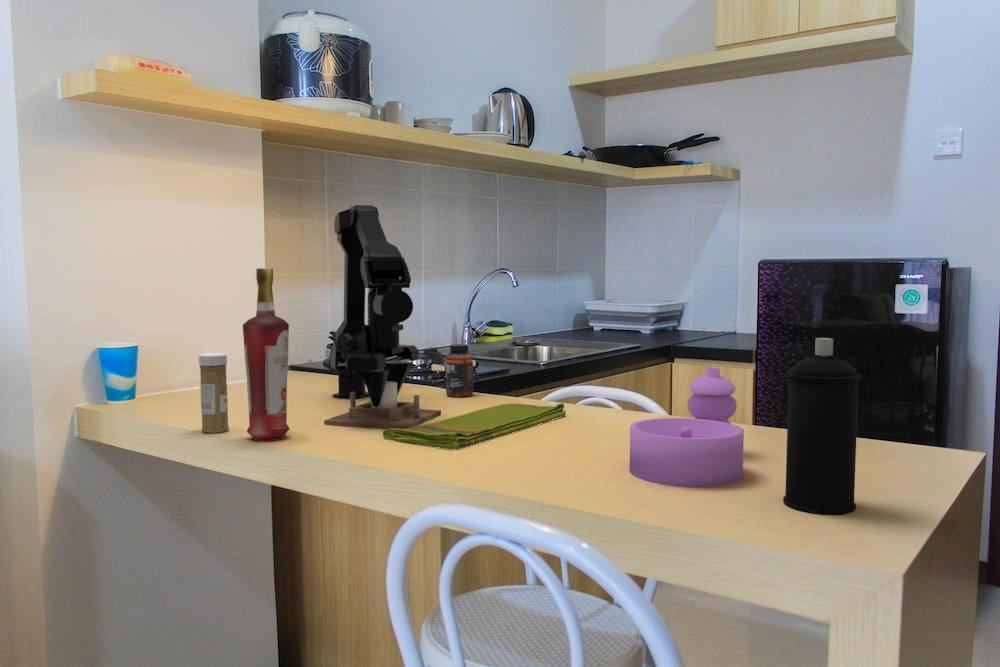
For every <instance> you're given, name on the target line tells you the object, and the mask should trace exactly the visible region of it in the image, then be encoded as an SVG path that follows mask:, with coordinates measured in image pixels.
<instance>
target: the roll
mask: <svg viewBox="0 0 1000 667" xmlns="http://www.w3.org/2000/svg"><path fill="white" fill-rule="evenodd" d="M397 402H398V396H397V382H392V381H387V380H386V384H385V387H384V391H383V395H382V398H381V402H380V405H379V406H378V407H374V406H373V405H372V402H371V408H378V409H395V408H397Z"/></svg>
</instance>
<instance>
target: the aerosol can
mask: <svg viewBox="0 0 1000 667" xmlns="http://www.w3.org/2000/svg"><path fill="white" fill-rule="evenodd" d="M814 342H815V344H814V345H815V347H814V355H812V356H811V357H808V358H804V359H803V360H800V361H798V362H797V363H796V364H794V365H793V366H792V367H791V370H788V371H787V372H786V376H787V377H788V390H787V391H788V392H787V393H788V394H787V422H786V423H787V427H786V430H787V433H786V459H785V461H786V463H785V494H784V496H783V498H782V501H783V503H784V505H786V506H787V507H789V508H791V509H794V510H795V511H796V510H797V511H799V512H804V513H810V514H819V515H844V514H849V513H852V512H854V511H855V510H856V509H857V505H856V503H855V490H856V489H855V487H856V485H855V484H856V483H855V482H856V463H857V462H856V458H857V454H856V453H857V432H858V430H857V428H858V402H859V381H860V380H861V379H862V375H861V374H859V373H857V371H856V369H855V368H854V367H853V366H852V365H851V364H850V363H849V362H846V361H845V360H842V359H839V358H837V357H836V356H835V355H834V338H831V337H816V338H815V339H814ZM833 355H834V356H833Z"/></svg>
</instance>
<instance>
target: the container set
mask: <svg viewBox="0 0 1000 667" xmlns="http://www.w3.org/2000/svg"><path fill="white" fill-rule="evenodd" d="M704 368H705V369H704V373H705V374H704V375H703V376H700V377H697V378H695V379H693V380H692V381H691V382H690V385H689V390H690V392H691V393H692V395H690V396H689V398H688V399H687V404H686V405H687V410H688V411H689V413H690V415H691V416H693V417H694V418H690V417H663V418H661V417H660V418H657V417H656V418H648V419H643V420H639V421H638V420H637V421H635V422H632V423H631V424H630V426H629V473H630V474H631V475H632V476H633V477H635V478H636V479H639V480H642V481H646V482H648V483H653V484H657V485H658V484H659V485H663V486H672V487H680V488H681V487H683V488H712V487H715V488H717V487H722V486H723V487H724V486H729V485H732V484H735V483H736V484H737V483H738V482H740V481H741V480H742V479H743V477H744V444H745V442H744V441H745V440H744V439H745V437H744V436H745V434H744V433H745V430H744V429H743V428H742V427H741V426H738V425H736V424H733V423H731V422H730V421H729V420H730V418H732V417H733V416H734V414H735V413H736V412H737V408H738V406H737V401H736V399H735V398H734V397H733V396H732V395H733V394H734V393H735V391H736V385H735V383H734V382H732V381H731V380H730V379H728V378H726V377H723V376H720V375H721V367H704Z"/></svg>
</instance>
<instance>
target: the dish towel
mask: <svg viewBox="0 0 1000 667" xmlns="http://www.w3.org/2000/svg"><path fill="white" fill-rule="evenodd" d="M566 414H567V413H566V410H565V403H558V404H556V405H553V406H552V405H541V406H540V405H534V404H527V403H526V404H525V403H505V404H504V403H501V404H497V405H495V406H490V407H485V408H482V409H478V410H475V411H470V412H468V413H464V414H461V415H457V416H453V417H449V418H447V419H443V420H438V421H434V422H431V423H426V424H419V425H417V426H414V427H411V428H406V429H383V431H382V437H383V440H386V441H392V440H393V441H392V442H398V441H399V443H404V442H406V443H405V444H410V443H412V444H411V445H416V444H418V446H422V445H425V446H424V447H428V446H433V447H432V448H435V447H440V448H439V449H441V448H447V449H446V450H448V449H458V450H460V449H459V448H461V449H463V447H465V448H467V447H466V446H468V447H471V446H470V445H472V446H474V445H473V444H475V445H477V444H476V443H478V444H480V443H479V442H482V443H484V442H483V441H485V442H487V441H486V440H488V441H490V440H489V439H491V440H494V439H493V438H495V437H498V438H500V437H499V436H501V437H504V436H503V435H505V436H507V435H506V434H508V435H510V434H509V433H511V434H513V433H512V432H514V433H516V432H515V431H518V430H521V429H524V428H527V427H530V426H534V425H537V424H540V423H544V422H547V421H549V420H552V419H555V418H558V417H561V416H564V415H565V416H566ZM565 416H564V417H565ZM547 423H548V422H547ZM544 424H545V423H544ZM540 425H541V424H540ZM537 426H538V425H537ZM534 427H535V426H534ZM527 429H528V428H527ZM524 430H525V429H524ZM521 431H522V430H521ZM518 432H519V431H518ZM495 439H496V438H495Z"/></svg>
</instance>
